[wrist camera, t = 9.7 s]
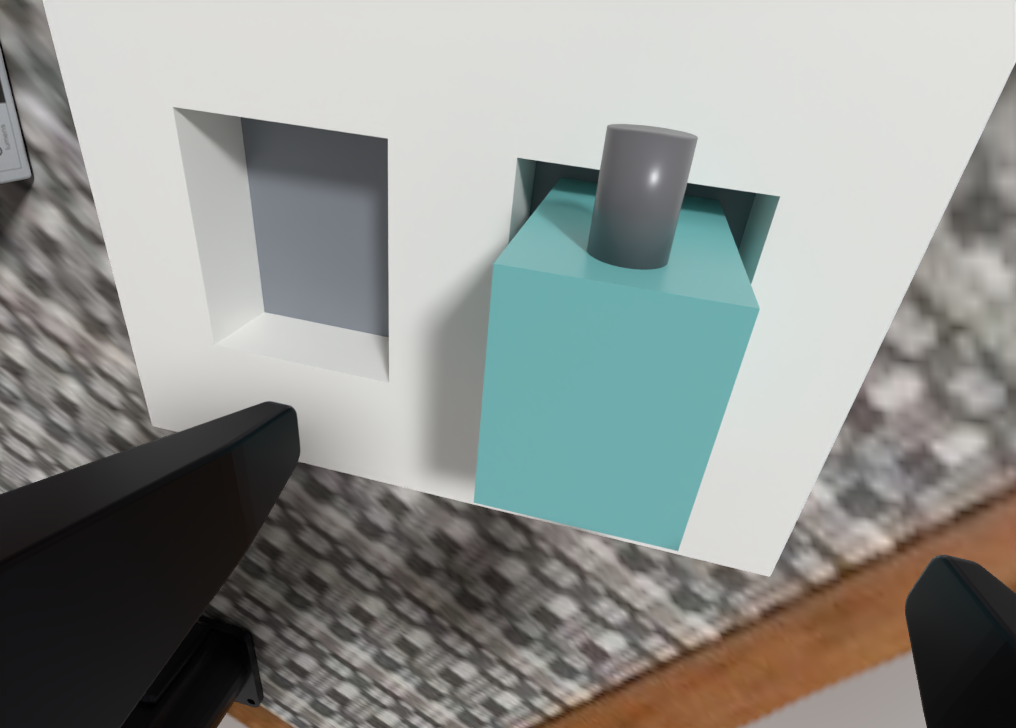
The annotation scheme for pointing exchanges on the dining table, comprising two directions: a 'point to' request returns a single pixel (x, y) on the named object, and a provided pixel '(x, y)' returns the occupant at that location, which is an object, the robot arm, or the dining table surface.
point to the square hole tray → (510, 203)
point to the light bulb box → (10, 135)
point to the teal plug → (613, 346)
